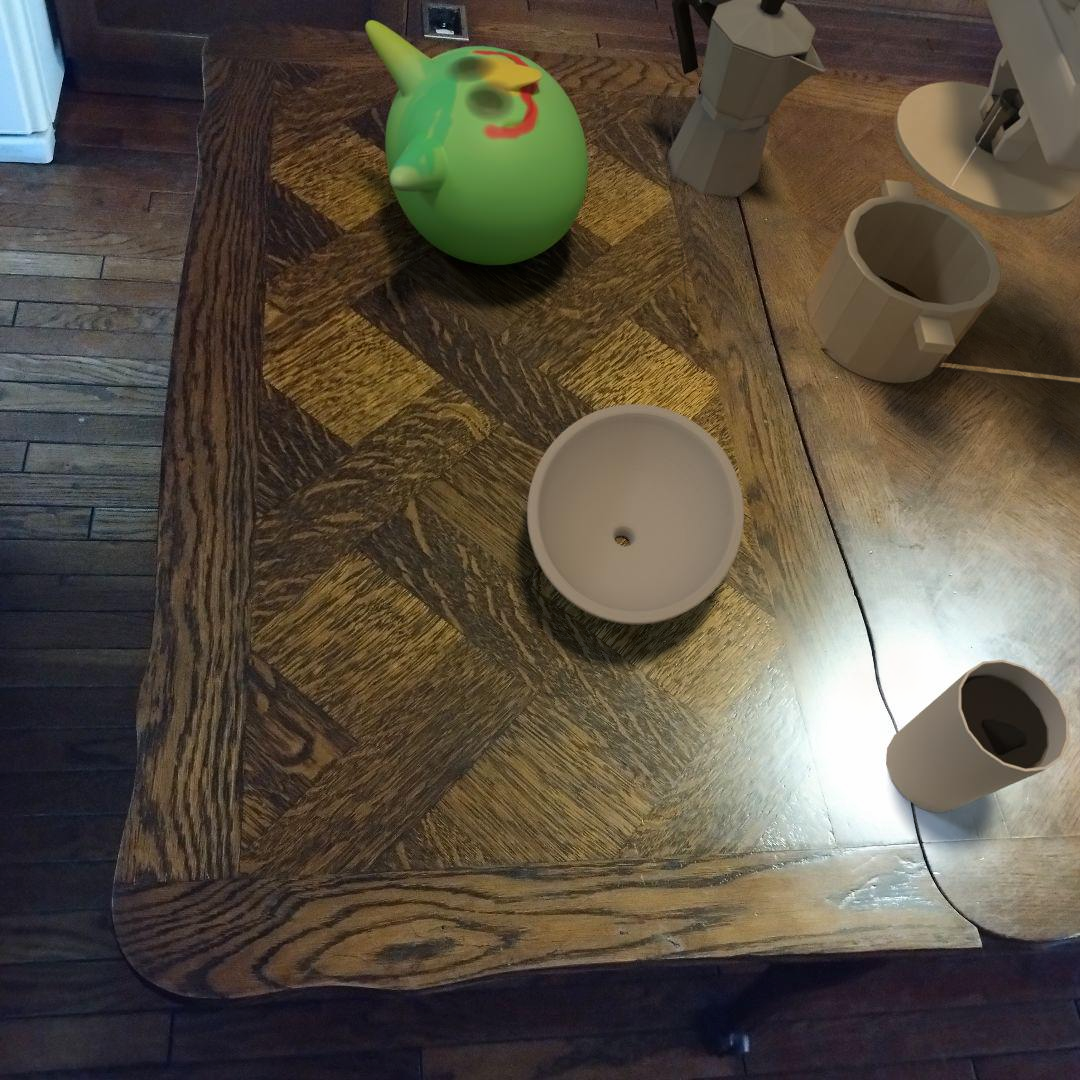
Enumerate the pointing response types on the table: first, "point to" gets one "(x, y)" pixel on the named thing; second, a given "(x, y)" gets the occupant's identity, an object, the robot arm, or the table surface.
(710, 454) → the dish
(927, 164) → the lid
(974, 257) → the pot
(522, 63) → the toy bird
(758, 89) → the coffee maker
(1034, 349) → the table surface
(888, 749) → the grey cup
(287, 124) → the table surface
